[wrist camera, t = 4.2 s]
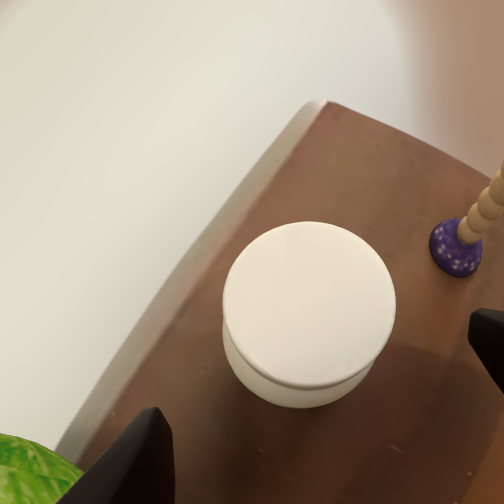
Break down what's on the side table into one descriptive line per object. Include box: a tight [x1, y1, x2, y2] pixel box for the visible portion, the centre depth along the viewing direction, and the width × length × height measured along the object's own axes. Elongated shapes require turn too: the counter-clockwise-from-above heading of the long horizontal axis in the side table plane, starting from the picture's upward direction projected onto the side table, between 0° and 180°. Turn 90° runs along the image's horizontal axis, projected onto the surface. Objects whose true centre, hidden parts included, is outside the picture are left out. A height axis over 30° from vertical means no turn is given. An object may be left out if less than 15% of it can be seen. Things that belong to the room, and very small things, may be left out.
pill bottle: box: [223, 222, 396, 409], centre depth 12 cm, size 6×6×10 cm
